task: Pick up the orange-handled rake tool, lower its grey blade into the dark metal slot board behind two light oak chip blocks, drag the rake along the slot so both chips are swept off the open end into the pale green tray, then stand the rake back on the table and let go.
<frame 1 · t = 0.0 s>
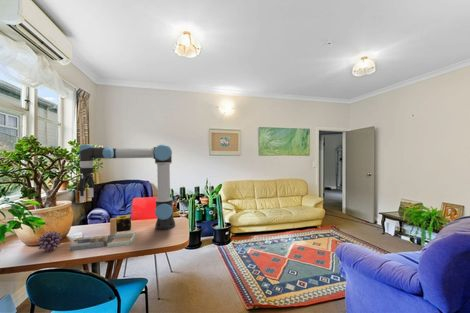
hand: (87, 199, 141), 28 cm above the table, fingers open, 13 cm apart
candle: (123, 229, 162), on the table
tray: (122, 242, 137), on the table
chip b: (103, 242, 134), point 1 cm above the table, touching slot board
slot board: (93, 245, 132), on the table
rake: (113, 237, 146), on the table
chip a: (95, 243, 133), point 1 cm above the table, touching slot board
flower: (50, 251, 126), on the table
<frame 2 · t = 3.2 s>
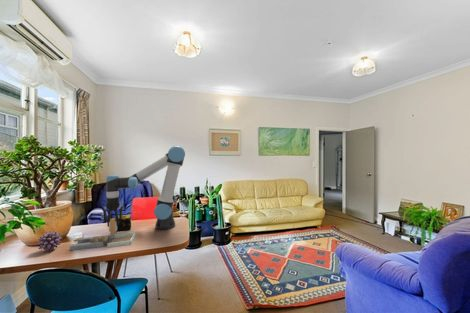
hand: (113, 230, 146), 5 cm above the table, fingers closed on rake, 3 cm apart
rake: (113, 237, 146), on the table, touching gripper
everything else where it was.
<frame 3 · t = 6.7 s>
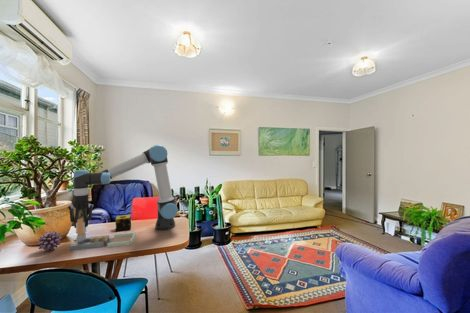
hand: (81, 232, 131), 9 cm above the table, fingers closed on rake, 3 cm apart
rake: (81, 239, 131), point 5 cm above the table, touching gripper
everything else where it was.
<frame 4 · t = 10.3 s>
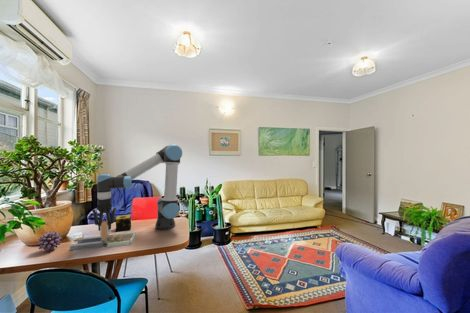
hand: (105, 234, 134), 6 cm above the table, fingers closed on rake, 3 cm apart
chip b: (118, 241, 136), point 1 cm above the table, touching tray
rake: (105, 242, 134), point 1 cm above the table, touching chip a, gripper
chip a: (111, 242, 135), point 1 cm above the table, touching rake, slot board
everything else where it was.
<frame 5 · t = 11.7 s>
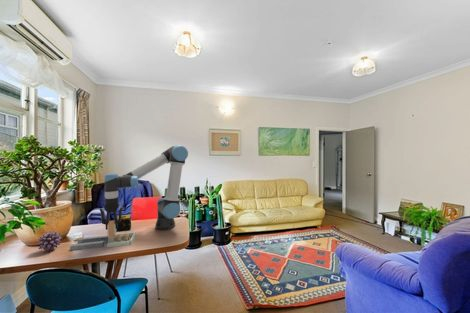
hand: (112, 233, 135), 6 cm above the table, fingers closed on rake, 3 cm apart
chip b: (124, 241, 137), point 1 cm above the table, touching chip a, tray
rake: (112, 241, 135), point 1 cm above the table, touching chip a, gripper
chip a: (118, 241, 136), point 1 cm above the table, touching chip b, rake
everything else where it was.
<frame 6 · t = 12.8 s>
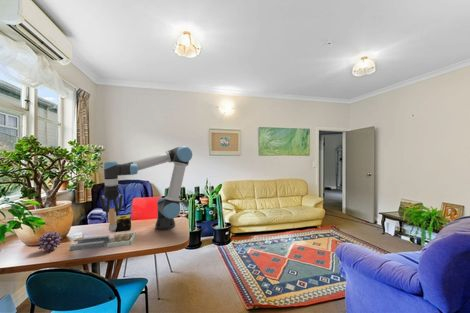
hand: (112, 221, 136), 14 cm above the table, fingers closed on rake, 3 cm apart
chip b: (125, 241, 137), point 1 cm above the table, touching tray
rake: (113, 228, 136), point 9 cm above the table, touching gripper
chip a: (118, 241, 136), point 1 cm above the table, touching tray
everything else where it was.
when the fingers open (6 cm above the table, at t = 17.0 s): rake drops 1 cm, on the table.
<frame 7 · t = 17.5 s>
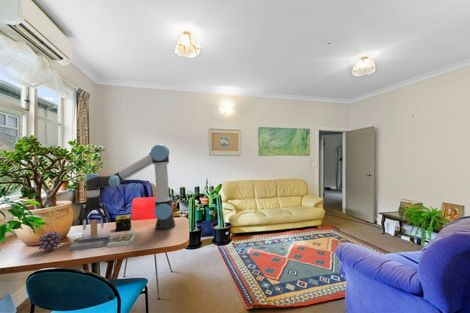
hand: (93, 228, 143), 7 cm above the table, fingers open, 10 cm apart
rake: (93, 239, 143), on the table
everything else where it was.
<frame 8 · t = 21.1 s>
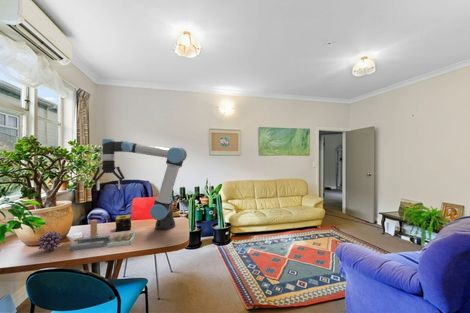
hand: (108, 189, 151), 33 cm above the table, fingers open, 13 cm apart
nothing on the table moved.
at the end: chip a inside the target area on the tray (2.0 cm from its centre), point 0.6 cm above the tray's base; chip b inside the target area on the tray (2.1 cm from its centre), point 0.6 cm above the tray's base; the gripper is holding nothing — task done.
